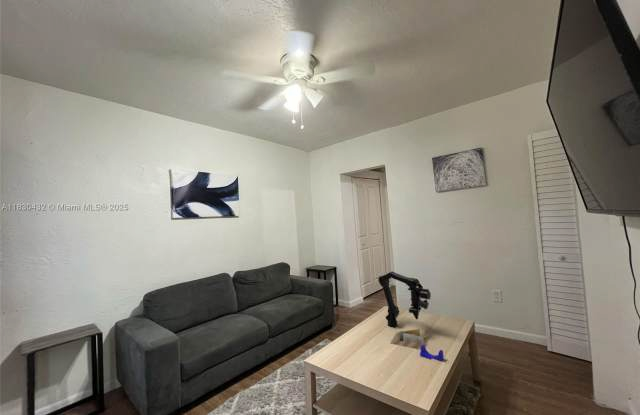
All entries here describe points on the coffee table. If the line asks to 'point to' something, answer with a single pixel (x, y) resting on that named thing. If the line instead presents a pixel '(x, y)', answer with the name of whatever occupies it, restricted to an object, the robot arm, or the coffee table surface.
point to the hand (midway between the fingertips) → (417, 318)
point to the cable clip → (428, 355)
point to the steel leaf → (411, 338)
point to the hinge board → (407, 344)
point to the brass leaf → (412, 332)
